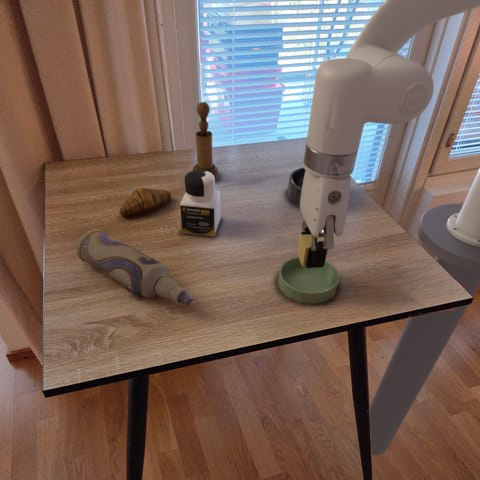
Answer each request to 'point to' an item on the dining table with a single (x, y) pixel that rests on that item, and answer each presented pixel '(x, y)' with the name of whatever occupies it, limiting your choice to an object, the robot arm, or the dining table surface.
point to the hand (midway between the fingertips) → (311, 257)
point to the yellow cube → (305, 247)
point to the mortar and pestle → (204, 143)
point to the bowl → (296, 186)
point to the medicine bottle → (200, 204)
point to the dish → (308, 281)
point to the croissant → (144, 201)
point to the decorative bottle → (129, 267)
